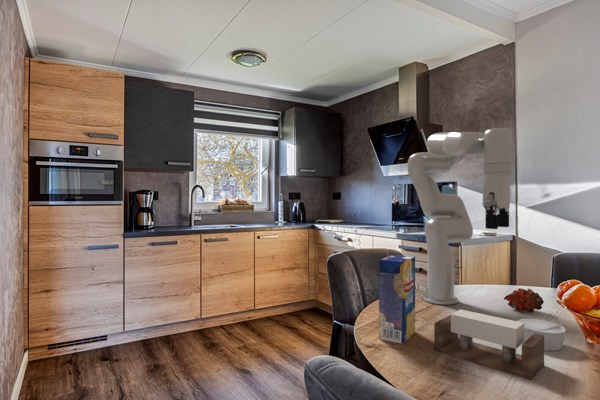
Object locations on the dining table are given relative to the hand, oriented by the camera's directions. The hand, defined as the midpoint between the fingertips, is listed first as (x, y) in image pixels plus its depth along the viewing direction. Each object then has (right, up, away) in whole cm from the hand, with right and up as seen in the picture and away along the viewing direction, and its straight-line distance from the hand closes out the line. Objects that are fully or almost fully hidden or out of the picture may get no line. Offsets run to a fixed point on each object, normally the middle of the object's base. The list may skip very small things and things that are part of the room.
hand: (497, 227), depth 111 cm
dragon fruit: (+19, -31, +18) cm, 40 cm away
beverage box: (-31, -31, -5) cm, 44 cm away
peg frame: (-13, -30, -20) cm, 38 cm away
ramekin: (+6, -31, -11) cm, 33 cm away
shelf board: (-13, -25, -19) cm, 34 cm away
